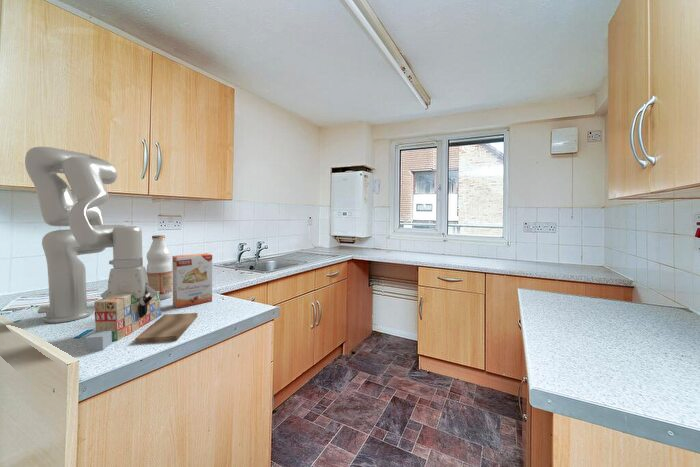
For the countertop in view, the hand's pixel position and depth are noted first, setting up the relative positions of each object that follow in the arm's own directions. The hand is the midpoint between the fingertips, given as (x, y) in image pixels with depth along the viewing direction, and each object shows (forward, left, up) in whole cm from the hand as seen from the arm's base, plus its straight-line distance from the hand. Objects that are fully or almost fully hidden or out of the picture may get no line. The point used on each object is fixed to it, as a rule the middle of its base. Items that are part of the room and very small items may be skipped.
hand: (130, 316), depth 94 cm
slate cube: (-1, -14, -4) cm, 15 cm away
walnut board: (+13, -3, -4) cm, 14 cm away
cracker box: (+12, +24, -4) cm, 27 cm away
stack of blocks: (0, +1, -4) cm, 4 cm away
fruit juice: (-5, +35, -4) cm, 36 cm away
